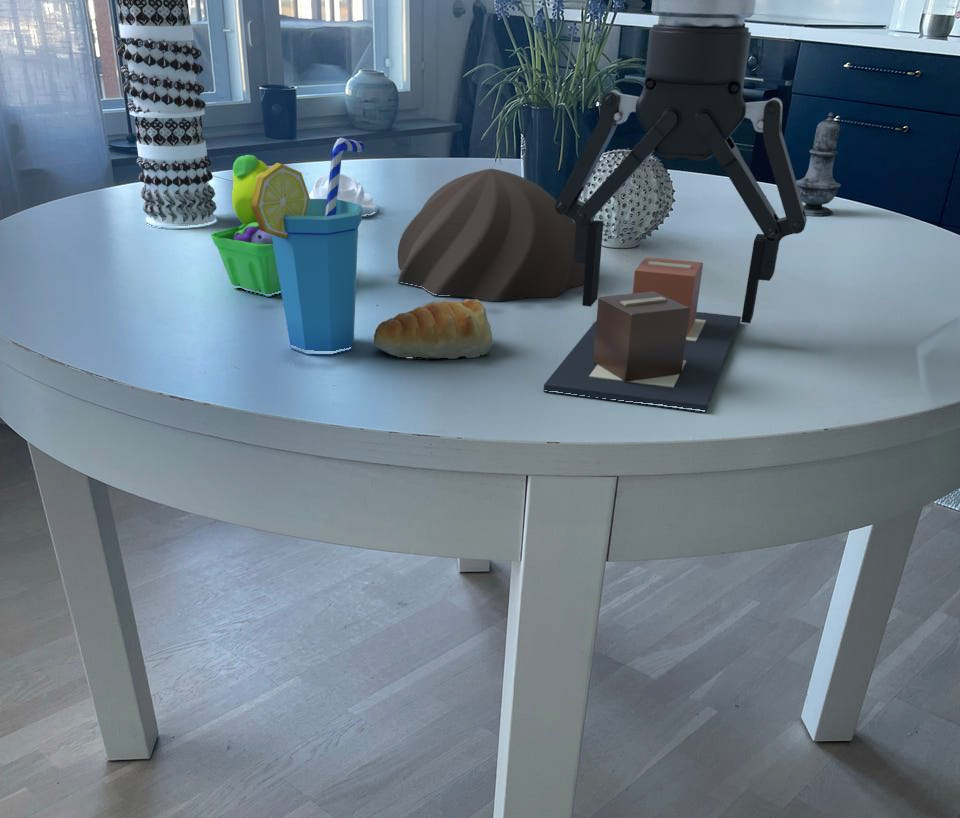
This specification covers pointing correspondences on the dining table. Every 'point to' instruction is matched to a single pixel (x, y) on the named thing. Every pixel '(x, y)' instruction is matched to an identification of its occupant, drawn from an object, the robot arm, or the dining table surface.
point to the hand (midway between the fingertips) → (666, 310)
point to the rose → (345, 193)
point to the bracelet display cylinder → (166, 111)
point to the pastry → (437, 331)
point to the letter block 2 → (640, 335)
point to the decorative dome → (490, 241)
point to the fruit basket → (248, 235)
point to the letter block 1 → (671, 281)
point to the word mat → (681, 390)
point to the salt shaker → (820, 170)
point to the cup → (312, 253)
